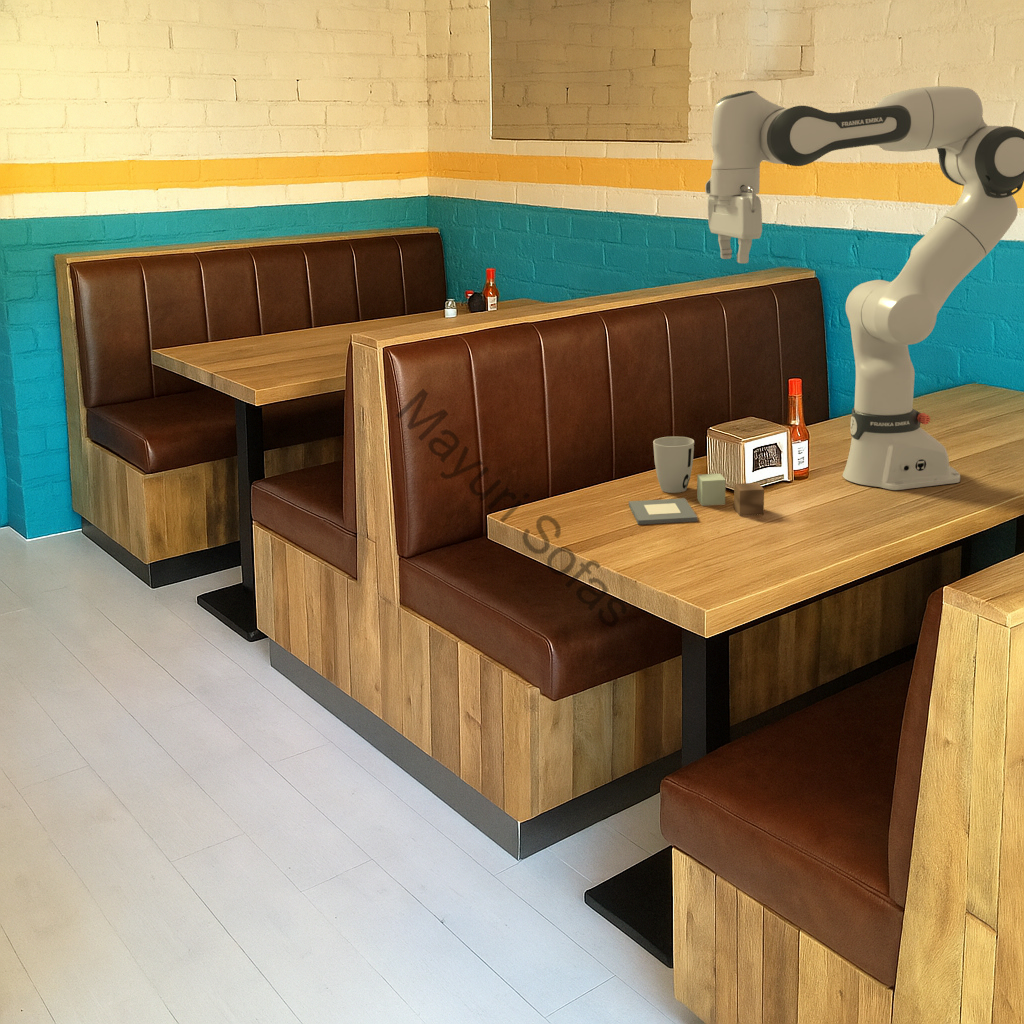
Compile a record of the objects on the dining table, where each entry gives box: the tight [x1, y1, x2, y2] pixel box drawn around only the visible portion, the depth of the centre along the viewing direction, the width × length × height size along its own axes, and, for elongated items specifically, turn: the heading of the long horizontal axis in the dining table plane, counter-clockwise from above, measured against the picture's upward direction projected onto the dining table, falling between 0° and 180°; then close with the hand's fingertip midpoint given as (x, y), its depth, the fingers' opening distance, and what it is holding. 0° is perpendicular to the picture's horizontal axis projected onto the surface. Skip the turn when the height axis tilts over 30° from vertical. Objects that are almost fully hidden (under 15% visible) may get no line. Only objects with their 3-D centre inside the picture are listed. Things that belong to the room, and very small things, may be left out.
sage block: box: [696, 473, 727, 507], centre depth 219 cm, size 4×4×5 cm
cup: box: [652, 436, 695, 494], centre depth 227 cm, size 8×8×10 cm
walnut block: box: [733, 482, 765, 517], centre depth 212 cm, size 4×4×5 cm
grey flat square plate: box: [628, 497, 699, 525], centre depth 214 cm, size 11×12×1 cm
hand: (734, 260), depth 214 cm, fingers open, 8 cm apart
